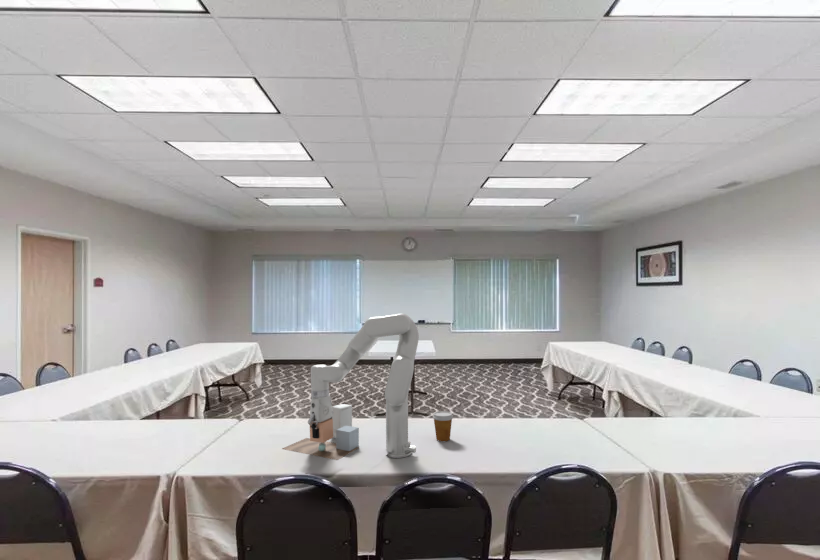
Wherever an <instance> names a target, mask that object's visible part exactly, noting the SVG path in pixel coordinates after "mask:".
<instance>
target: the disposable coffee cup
mask: <svg viewBox="0 0 820 560" xmlns="http://www.w3.org/2000/svg"><path fill="white" fill-rule="evenodd" d="M453 417H454V415H453V414H452V412H450V411H442V410H439V411H436V412H435V411H434V412H433V415H432V418H433V421H434V422H433V423H434V431H435V438H436V439H437V440H436V441H438V440H439V442H443V441H445V442H449V441H450V440H451V439H450V438H451V430H452V422H453V421H452V420H453ZM448 440H449V441H448Z"/></svg>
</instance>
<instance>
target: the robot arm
mask: <svg viewBox="0 0 820 560" xmlns="http://www.w3.org/2000/svg"><path fill="white" fill-rule="evenodd" d="M398 335H399V338H398V343H397V348H396V351H395V356H394V358H393V360H392V363H391V365H390V370H389V374H388V378H387V382H386V386H385V390H384V399H385V440H386V441H385V444H386V445H385V450H386V452H387V454H386V455H385V457H387V458H391V459H403V458H406V457H409V456H411V454H414V453H415V454H416V453H417V447H416V446H415V445H411V441H409V392H410V388H411V384H412V378H413V375H414V370H415V369H414V368H415V359H416V356H417V355H416V354H417V350H418V347H419V346H418V343H419V329H418V327H417V324H416V323H415V322H414V320H413V319H412V318H411V317H410V316H409V315H407V314H406V313H396V314H391V315H385V316H384V315H383V316H372V317H369V318H368V319H366V320H365V322H364V324H363V325H362V327H361V328H360V329H359V330H358V331H357V332H356V334H355V335H354V336H353V337H352V339H350V341H349V343H348V344H347V347H346V349H345V350H343V352H342V354H340V356H339V357H338V359H337V360H336V361H335V362H334V363H333V364H332V365H327V364H313V365H312V366H311V367H310V391H311V395H310V396H311V399H310V407H309V409H310V410H309V415H310V416H309V419H308V420H307V424H308V425H309V428H310V427H311V429H312V437H313V438H317V439H318V438H319V429H318V426H319V424H318V423H320V422H323V421H325V420H328V419H332V416H333V413H334V412H333V411H332V406H333V404H332V397H331V395H330V386H329V385H330V383H339V382H341V381H342V380H343V379H344V378H345V377H346V376H347V375H348V374H349V372H350V371H351V370H352V369H353V368H354V366H355V365H356V364H357V363H358V361H359V360H360V359H361V358H363V357H364V356H365V354H367V352H368V351H369V350H370V348H371V347H372V346H373V345H374V343H376V341H377V340H378V339H379V338H384V337H392V336H398ZM314 423H316V425H315V424H314Z"/></svg>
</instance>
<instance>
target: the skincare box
mask: <svg viewBox="0 0 820 560" xmlns="http://www.w3.org/2000/svg"><path fill="white" fill-rule="evenodd" d="M332 411H333V412H334V413H333V416H332V419H333V438H334V439H336V430H337V429H339V428H342V427H344V426H351V427H353V405H352V404H347V403H346V404H345V403H341V404H337V405H332ZM333 438H332V439H333Z"/></svg>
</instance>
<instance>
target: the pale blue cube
mask: <svg viewBox="0 0 820 560" xmlns="http://www.w3.org/2000/svg"><path fill="white" fill-rule="evenodd" d="M359 428H360V427H358V426H352V427H351V426H344V427H342V428H339V429H337V430H336V438H335V443H336V449H341V450H346V451H351V450H352V449H354V448H356V447H359V446H360V445H359V444H360V439H359V438H360V436H359V435H360V433H359V432H360V429H359Z"/></svg>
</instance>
